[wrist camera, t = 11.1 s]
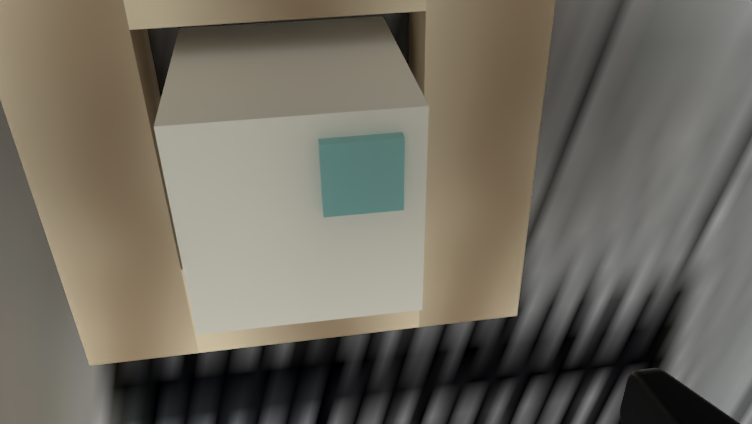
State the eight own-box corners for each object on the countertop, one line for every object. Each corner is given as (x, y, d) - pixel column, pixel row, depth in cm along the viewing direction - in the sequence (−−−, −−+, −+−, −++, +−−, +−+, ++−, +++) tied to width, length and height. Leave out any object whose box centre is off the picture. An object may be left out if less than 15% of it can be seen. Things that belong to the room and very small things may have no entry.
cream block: (208, 201, 20) (195, 343, 15) (179, 27, 17) (151, 133, 12) (383, 185, 20) (424, 317, 16) (382, 15, 18) (431, 111, 13)
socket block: (102, 318, 21) (89, 365, 20) (-37, -135, 14) (-74, -120, 13) (497, 274, 23) (517, 315, 21) (540, -155, 16) (573, -145, 14)
